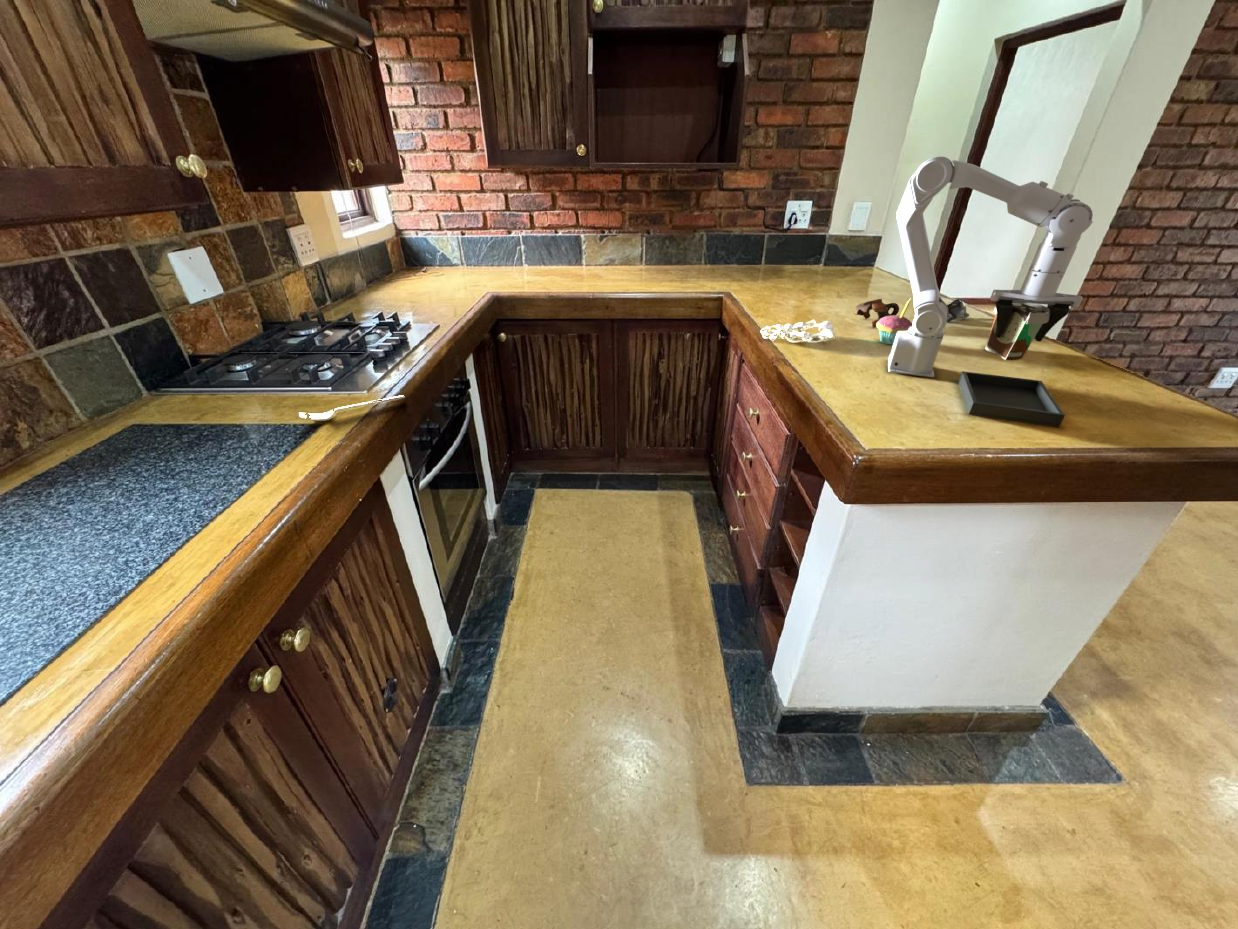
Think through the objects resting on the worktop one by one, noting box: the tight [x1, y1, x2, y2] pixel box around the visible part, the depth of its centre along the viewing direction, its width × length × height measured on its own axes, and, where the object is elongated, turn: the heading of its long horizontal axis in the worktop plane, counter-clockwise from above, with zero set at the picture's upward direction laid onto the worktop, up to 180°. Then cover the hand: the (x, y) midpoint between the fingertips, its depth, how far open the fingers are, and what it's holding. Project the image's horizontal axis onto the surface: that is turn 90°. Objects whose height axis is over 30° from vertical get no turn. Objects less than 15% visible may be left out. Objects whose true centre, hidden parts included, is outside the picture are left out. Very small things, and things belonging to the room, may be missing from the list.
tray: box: [957, 371, 1066, 429], centre depth 100 cm, size 15×18×3 cm
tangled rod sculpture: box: [760, 318, 836, 344], centre depth 135 cm, size 19×14×4 cm
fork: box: [298, 395, 406, 422], centre depth 102 cm, size 3×20×2 cm, turn 122°
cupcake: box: [876, 297, 913, 346], centre depth 130 cm, size 9×8×12 cm
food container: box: [985, 302, 1050, 361], centre depth 102 cm, size 12×6×10 cm, turn 169°
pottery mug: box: [854, 298, 900, 329], centre depth 146 cm, size 12×10×8 cm
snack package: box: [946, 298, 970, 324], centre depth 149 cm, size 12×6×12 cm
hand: (1017, 338), depth 103 cm, fingers closed on food container, 6 cm apart
